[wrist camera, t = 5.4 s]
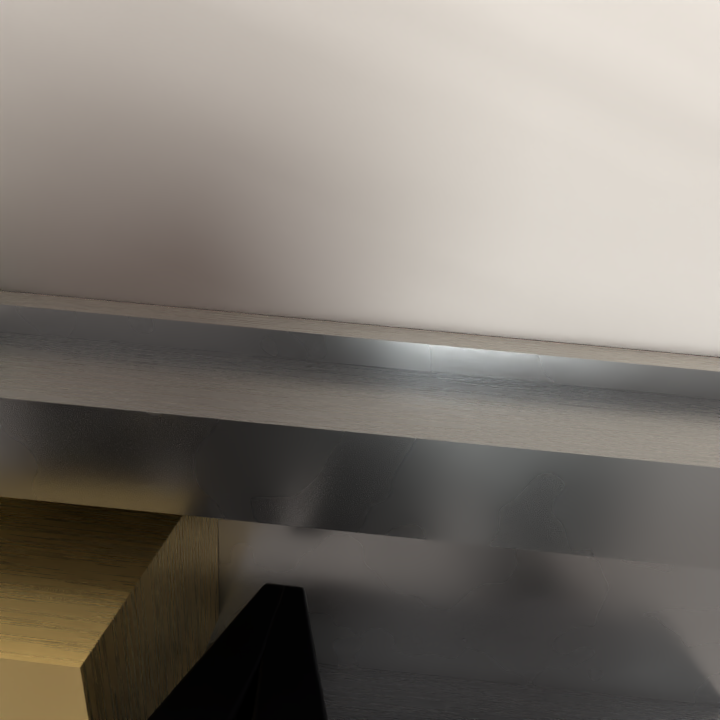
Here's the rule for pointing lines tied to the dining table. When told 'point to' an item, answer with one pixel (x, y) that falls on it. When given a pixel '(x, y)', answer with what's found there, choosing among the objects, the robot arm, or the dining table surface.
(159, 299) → the dining table surface
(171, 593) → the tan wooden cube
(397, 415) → the slot rail
